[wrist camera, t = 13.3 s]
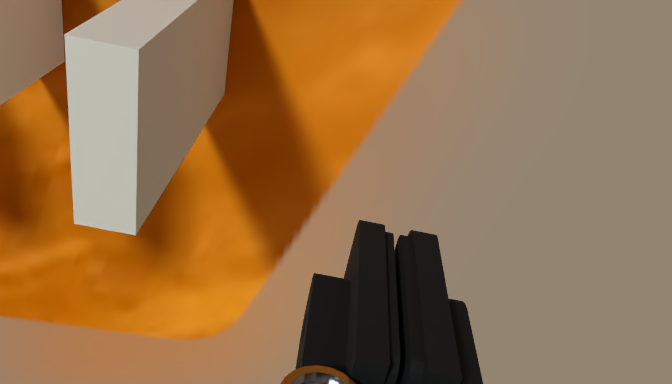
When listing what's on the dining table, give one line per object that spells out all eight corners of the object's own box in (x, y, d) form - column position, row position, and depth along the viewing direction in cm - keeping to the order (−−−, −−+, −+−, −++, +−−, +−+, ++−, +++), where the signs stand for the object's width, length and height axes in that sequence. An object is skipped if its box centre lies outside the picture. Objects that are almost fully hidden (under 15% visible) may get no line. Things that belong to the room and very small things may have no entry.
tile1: (237, -34, 21) (138, 49, 12) (224, 93, 24) (135, 235, 15) (193, -43, 21) (64, 33, 12) (185, 86, 24) (74, 223, 15)
